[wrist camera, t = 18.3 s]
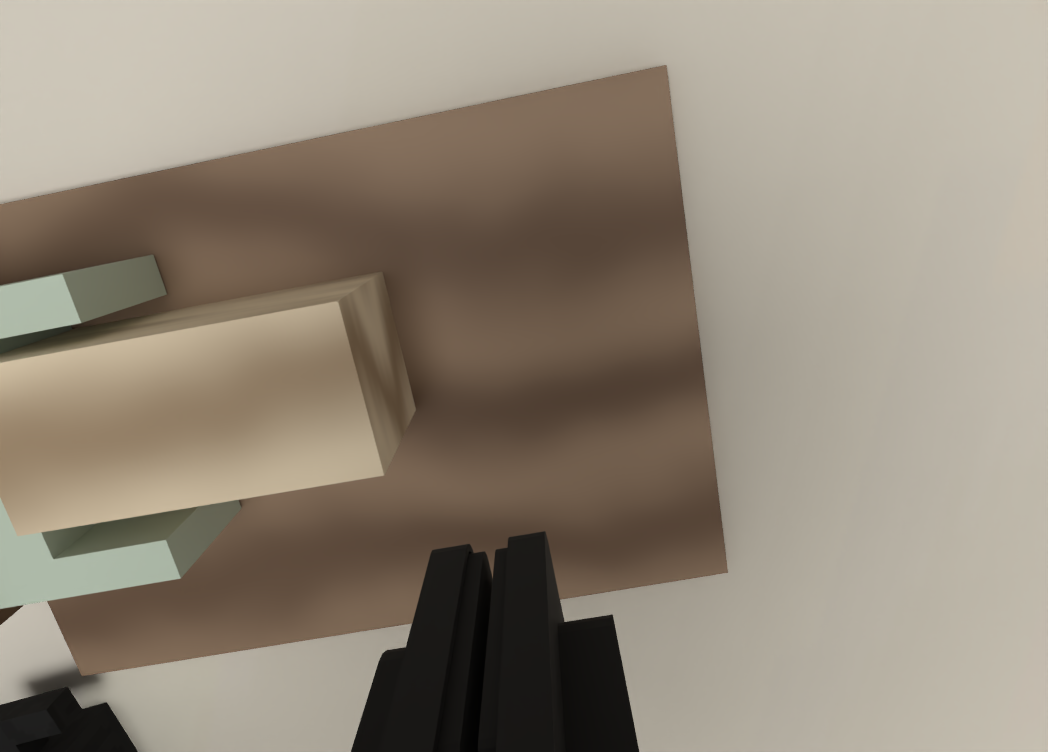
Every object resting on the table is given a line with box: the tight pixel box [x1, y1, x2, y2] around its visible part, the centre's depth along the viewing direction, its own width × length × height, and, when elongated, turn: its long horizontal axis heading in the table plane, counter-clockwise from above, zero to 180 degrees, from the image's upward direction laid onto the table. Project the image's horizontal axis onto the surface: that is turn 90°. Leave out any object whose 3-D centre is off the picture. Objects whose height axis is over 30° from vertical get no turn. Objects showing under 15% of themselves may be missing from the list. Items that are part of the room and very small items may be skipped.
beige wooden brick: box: [0, 272, 416, 536], centre depth 23 cm, size 6×12×6 cm, turn 100°
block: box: [0, 255, 241, 609], centre depth 24 cm, size 10×7×5 cm, turn 11°
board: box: [0, 65, 728, 676], centre depth 24 cm, size 20×29×7 cm
